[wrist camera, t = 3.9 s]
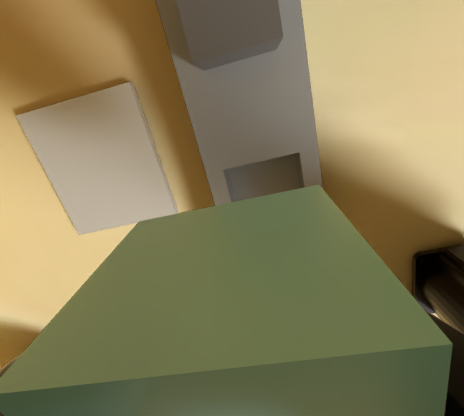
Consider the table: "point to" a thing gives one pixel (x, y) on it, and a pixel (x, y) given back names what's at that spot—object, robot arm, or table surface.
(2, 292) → the table surface
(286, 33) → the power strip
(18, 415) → the green block
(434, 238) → the table surface
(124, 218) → the mat
